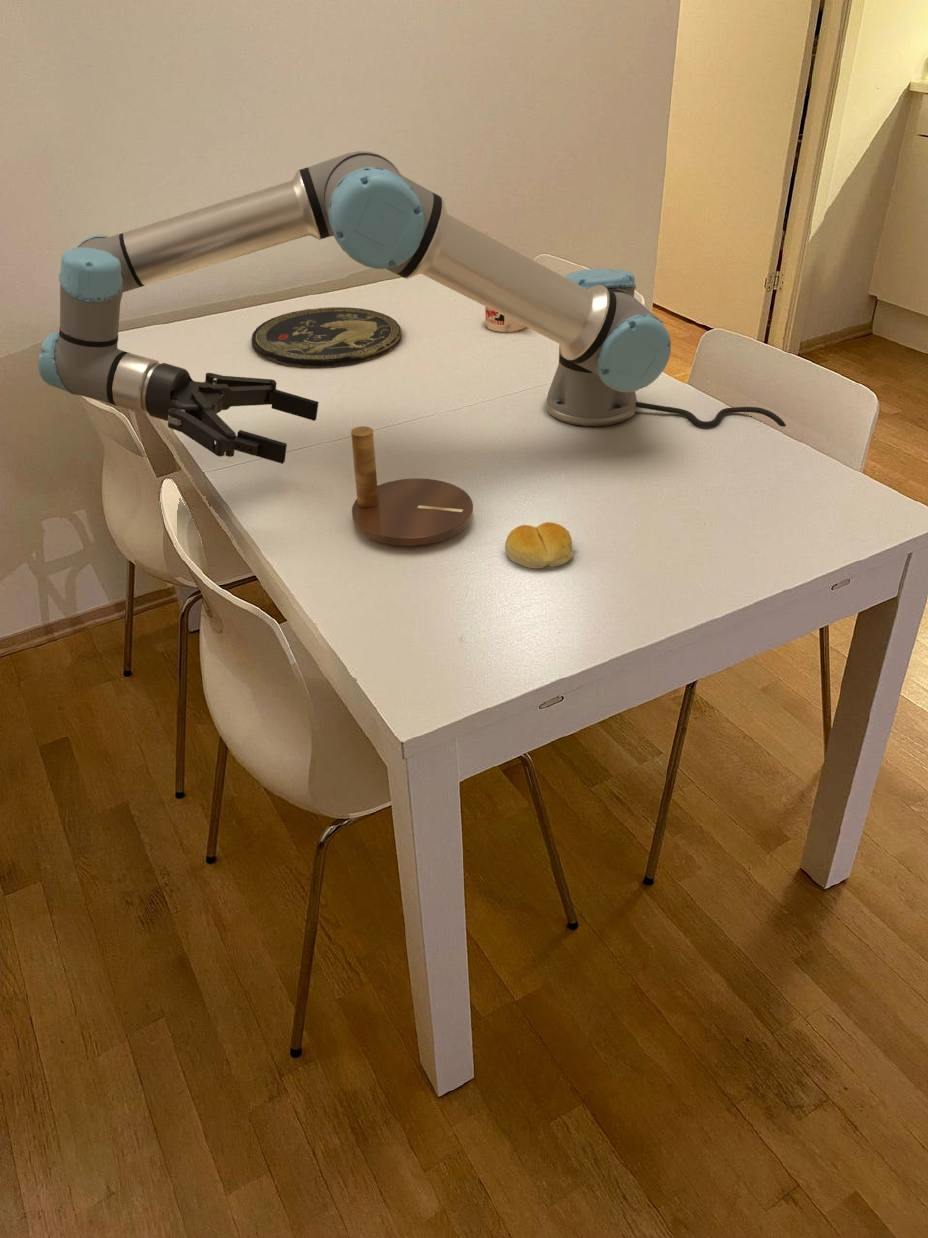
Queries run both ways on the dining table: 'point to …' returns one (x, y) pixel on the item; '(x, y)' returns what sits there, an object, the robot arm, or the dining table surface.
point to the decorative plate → (326, 337)
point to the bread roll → (539, 545)
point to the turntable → (404, 502)
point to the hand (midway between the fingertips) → (301, 431)
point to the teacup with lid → (500, 322)
